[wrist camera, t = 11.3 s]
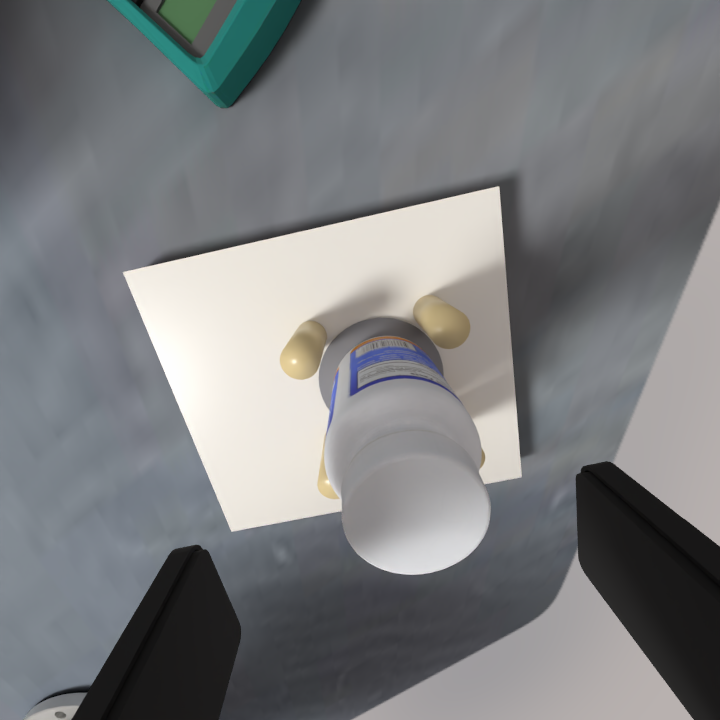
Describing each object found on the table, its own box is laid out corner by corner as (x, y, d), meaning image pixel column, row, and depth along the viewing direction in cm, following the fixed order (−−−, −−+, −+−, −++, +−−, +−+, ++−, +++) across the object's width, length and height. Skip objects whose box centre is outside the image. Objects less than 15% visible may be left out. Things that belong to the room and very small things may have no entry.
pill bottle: (394, 444, 20) (432, 624, 10) (313, 394, 18) (275, 545, 9) (456, 370, 18) (564, 501, 9) (373, 311, 17) (399, 391, 8)
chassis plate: (510, 462, 22) (559, 529, 17) (239, 513, 23) (205, 593, 18) (487, 190, 17) (545, 167, 12) (141, 270, 18) (54, 280, 13)
